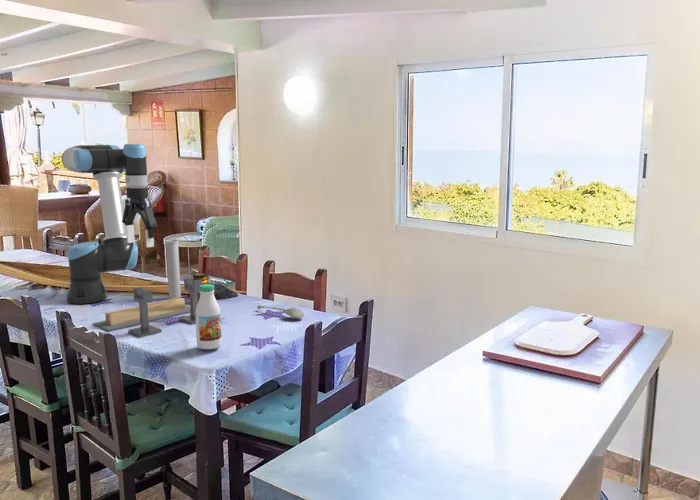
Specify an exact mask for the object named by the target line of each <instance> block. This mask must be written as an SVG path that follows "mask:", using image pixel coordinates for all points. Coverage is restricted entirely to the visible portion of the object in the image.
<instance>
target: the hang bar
mask: <svg viewBox="0 0 700 500" xmlns="http://www.w3.org/2000/svg"><path fill="white" fill-rule="evenodd" d="M185 303H186V301H185V298H183V297H177V298H173V299H170V298H169V299H164V300H159V301H154V302H151V303H147V304H148V317H152V316H156V315H160V314H165V313H169V312H173V311H178V310H182V309H185V306H186V305H185ZM104 315H105V320H106V324H108V325H111V326H113V325H117V324H121V323H126V322H130V321H134V320H139V319H140V311H139V305H136V306H130V307H127V308H126V307H125V308H121V309H117V310H112V311H108V312H105V314H104Z"/></svg>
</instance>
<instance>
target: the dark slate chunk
mask: <svg viewBox="0 0 700 500" xmlns="http://www.w3.org/2000/svg"><path fill="white" fill-rule="evenodd" d="M207 284H213V285H214V297H215V299H216V301H218V300H227V299H229V300H230V299H231V298H235V297H236V298H237V297H238V296H239V294H238V293H237V292H236V291H234V290H232V289H230V288H229V287H227V286H224V285H223V284H222V283H214V282H207Z"/></svg>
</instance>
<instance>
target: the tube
mask: <svg viewBox="0 0 700 500" xmlns="http://www.w3.org/2000/svg"><path fill="white" fill-rule="evenodd" d="M179 243H180V242H179V240H176V239H170V240H165V246H166V249H165V250H166V266H167V267H166V268H167V284H168V297H169V299H173V298H177V297H180V298H182V297H181V296H182V293H181V292H182V291H181V289H182V288H181V275H180V273H181V271H180V253H179Z"/></svg>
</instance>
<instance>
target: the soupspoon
mask: <svg viewBox="0 0 700 500" xmlns="http://www.w3.org/2000/svg"><path fill="white" fill-rule="evenodd" d="M256 308H257V309H258V310H260V309H264V308H265V309H272V310H278V311H282V312H283V313H284V314H286V315H288V316H289V317H291V318H294V319H295V318H296V319H301V318H303V317H304V316H305V314H304V312H303V311H302V310H301V309H299V308H295V307H290V308H288V309H284V308H279V307H274V306H272V307H271V306H267V305H266V306H265V305H261V304H258V305H257V307H256Z"/></svg>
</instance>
